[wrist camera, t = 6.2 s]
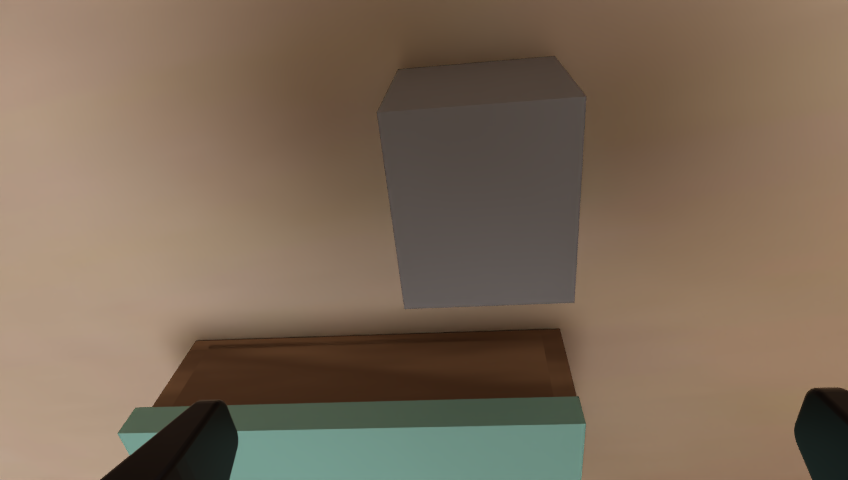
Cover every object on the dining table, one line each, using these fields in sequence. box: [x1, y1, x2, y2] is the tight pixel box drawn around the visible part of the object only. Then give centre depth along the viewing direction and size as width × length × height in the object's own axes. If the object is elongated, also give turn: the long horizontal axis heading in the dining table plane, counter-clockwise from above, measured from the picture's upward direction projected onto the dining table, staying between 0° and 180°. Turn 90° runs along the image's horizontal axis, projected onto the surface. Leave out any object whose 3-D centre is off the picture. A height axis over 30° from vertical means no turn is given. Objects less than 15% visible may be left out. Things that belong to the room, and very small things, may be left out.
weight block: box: [377, 56, 586, 309], centre depth 16 cm, size 6×5×5 cm
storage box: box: [152, 329, 576, 407], centre depth 24 cm, size 12×16×4 cm
